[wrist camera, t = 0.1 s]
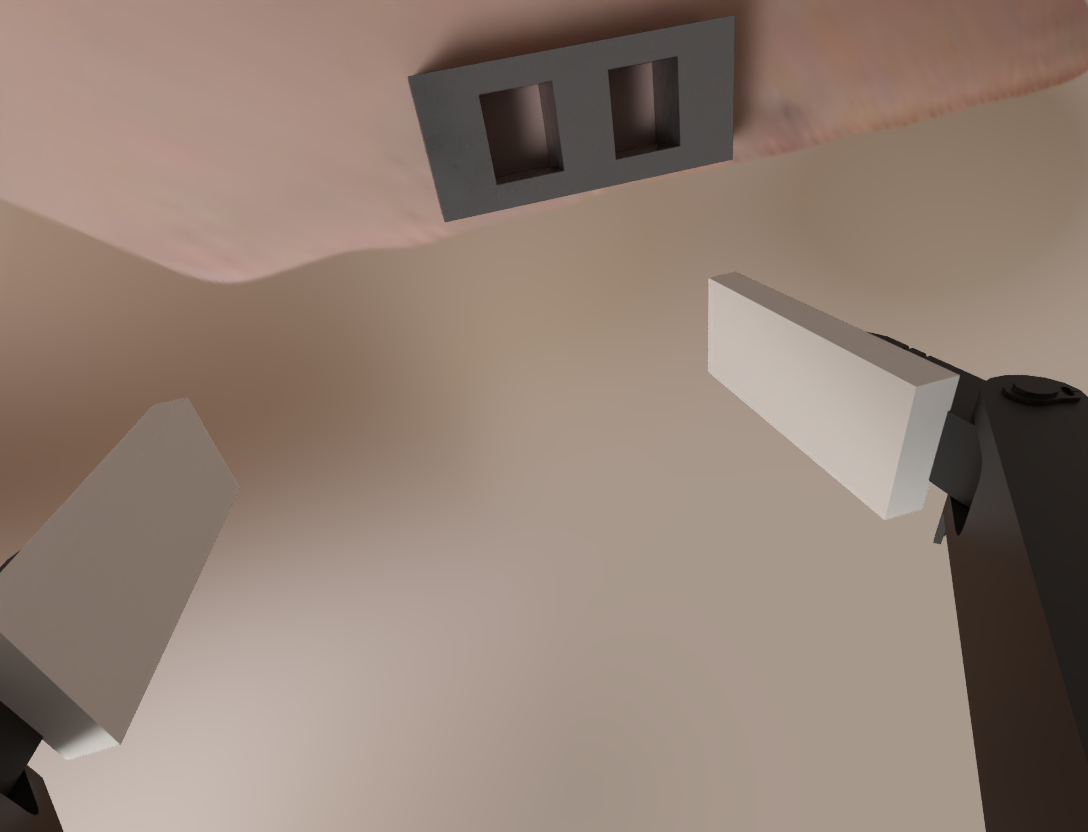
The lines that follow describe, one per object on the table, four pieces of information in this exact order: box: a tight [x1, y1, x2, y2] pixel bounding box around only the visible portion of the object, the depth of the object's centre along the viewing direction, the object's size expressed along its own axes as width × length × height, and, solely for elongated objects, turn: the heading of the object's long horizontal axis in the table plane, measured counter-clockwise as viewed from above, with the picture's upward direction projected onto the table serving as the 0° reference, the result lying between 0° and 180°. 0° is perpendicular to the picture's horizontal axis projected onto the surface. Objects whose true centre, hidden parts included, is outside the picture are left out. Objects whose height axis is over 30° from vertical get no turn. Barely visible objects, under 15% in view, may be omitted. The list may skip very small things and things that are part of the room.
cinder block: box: [408, 15, 735, 222], centre depth 35 cm, size 8×20×4 cm, turn 100°
